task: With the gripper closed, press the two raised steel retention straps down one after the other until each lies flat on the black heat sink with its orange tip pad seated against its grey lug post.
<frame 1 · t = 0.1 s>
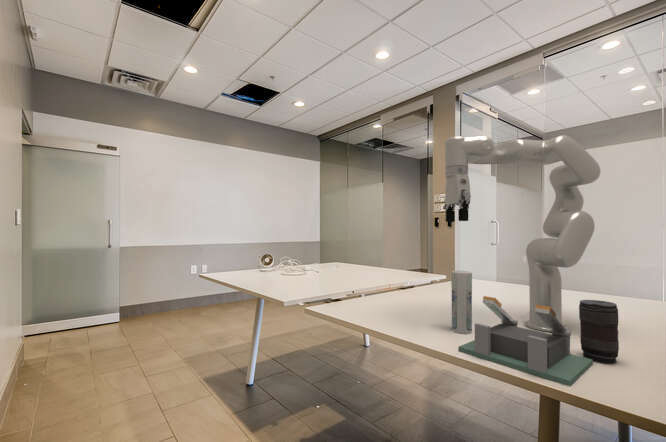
hand: (456, 221, 112), 37 cm above the table, tool pointing down, fingers open, 9 cm apart
strap 1: (498, 309, 92), point 11 cm above the table, hinge at 30.0°
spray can: (461, 331, 108), on the table
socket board: (522, 357, 86), on the table
strap 2: (551, 319, 82), point 11 cm above the table, hinge at 30.0°
camera lens: (598, 359, 85), on the table
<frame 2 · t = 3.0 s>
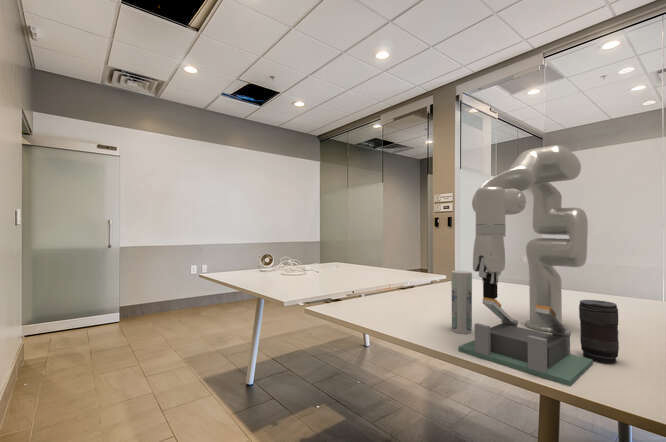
hand: (490, 297, 89), 15 cm above the table, tool pointing down, fingers closed
strap 1: (498, 310, 92), point 11 cm above the table, hinge at 29.1°, touching gripper
everything else where it was.
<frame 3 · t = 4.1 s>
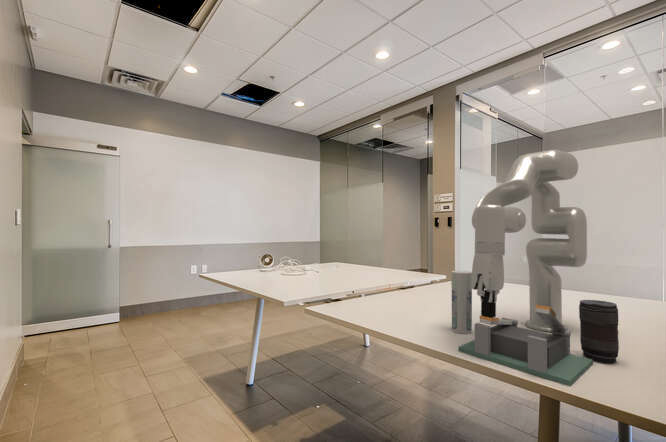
hand: (488, 316, 88), 10 cm above the table, tool pointing down, fingers closed
strap 1: (497, 320, 91), point 8 cm above the table, hinge at 9.4°, touching gripper
everything else where it was.
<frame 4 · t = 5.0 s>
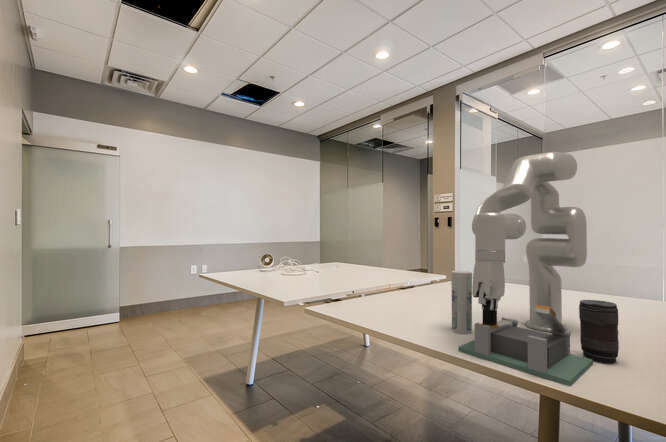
hand: (489, 323, 88), 8 cm above the table, tool pointing down, fingers closed
strap 1: (496, 324, 91), point 7 cm above the table, hinge at 1.2°, touching gripper
everything else where it was.
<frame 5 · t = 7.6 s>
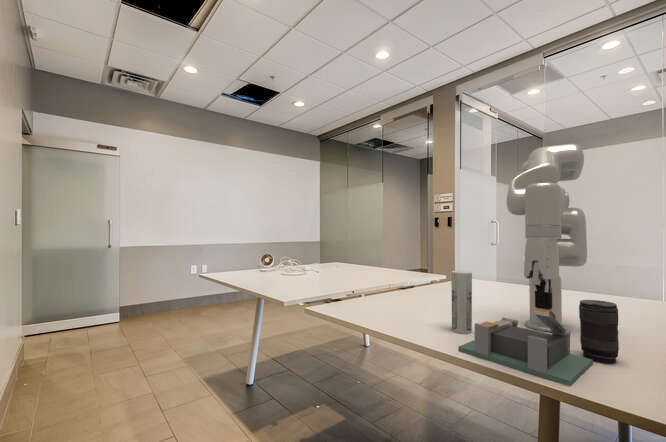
hand: (543, 308, 78), 15 cm above the table, tool pointing down, fingers closed
strap 1: (496, 324, 91), point 7 cm above the table, hinge at 1.1°
strap 2: (551, 321, 82), point 11 cm above the table, hinge at 27.5°, touching gripper
everything else where it was.
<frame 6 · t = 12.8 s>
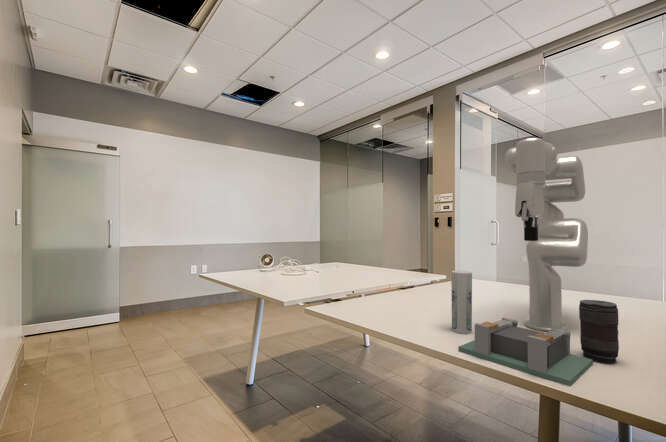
hand: (531, 240, 96), 31 cm above the table, tool pointing down, fingers closed
strap 2: (549, 336, 81), point 7 cm above the table, hinge at 1.1°
everything else where it was.
at the end: strap 1 at +1° (first picture: +30°); strap 2 at +1° (first picture: +30°) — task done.
